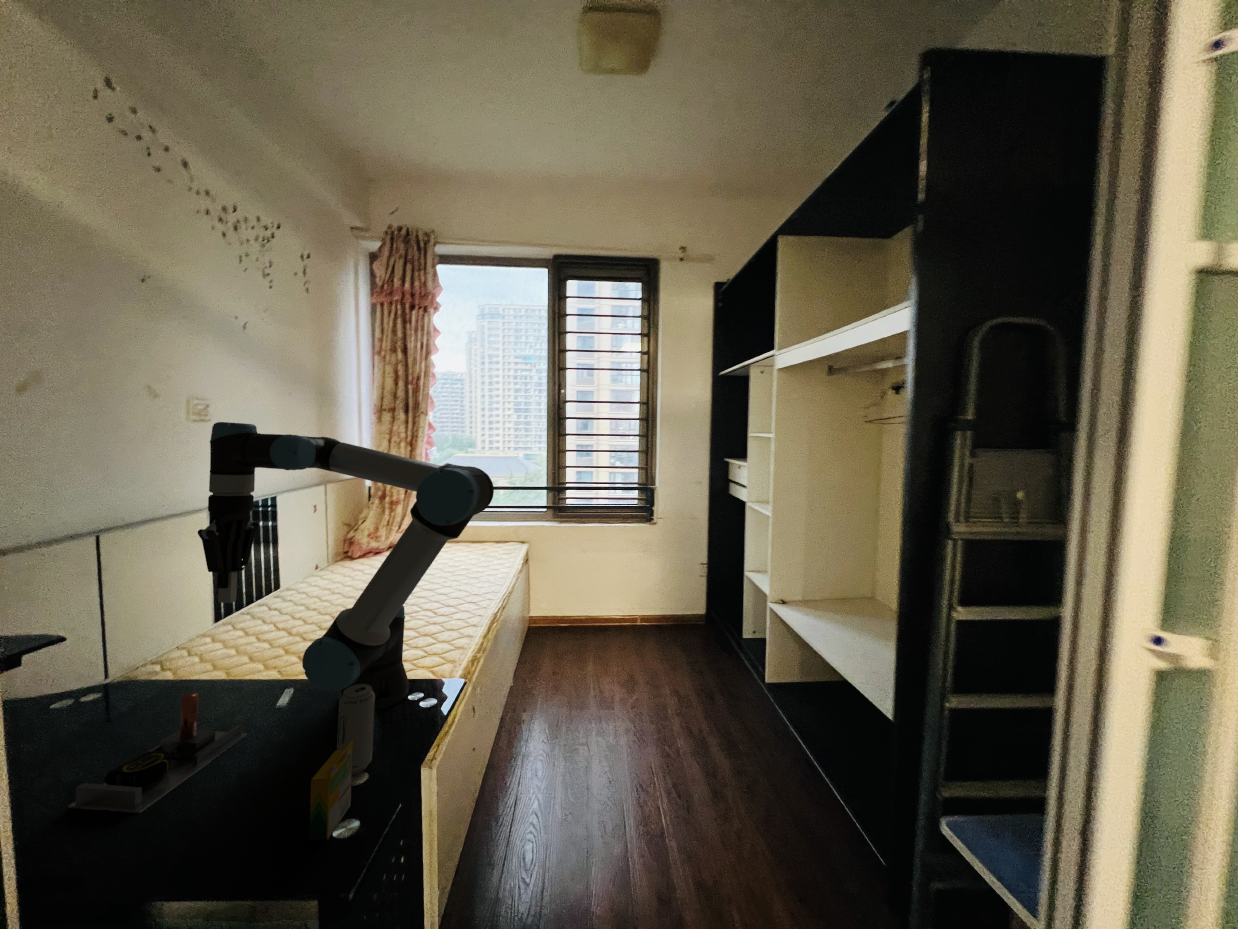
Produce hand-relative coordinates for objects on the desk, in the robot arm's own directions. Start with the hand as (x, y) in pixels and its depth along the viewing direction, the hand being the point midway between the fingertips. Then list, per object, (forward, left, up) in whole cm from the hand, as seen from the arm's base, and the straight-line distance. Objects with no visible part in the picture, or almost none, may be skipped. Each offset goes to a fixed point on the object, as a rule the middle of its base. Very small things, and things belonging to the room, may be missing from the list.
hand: (227, 601), depth 99 cm
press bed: (-3, +14, -26) cm, 30 cm away
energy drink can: (-36, +11, -27) cm, 46 cm away
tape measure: (-2, +19, -26) cm, 32 cm away
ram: (-3, +11, -26) cm, 28 cm away
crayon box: (-40, +24, -27) cm, 54 cm away
